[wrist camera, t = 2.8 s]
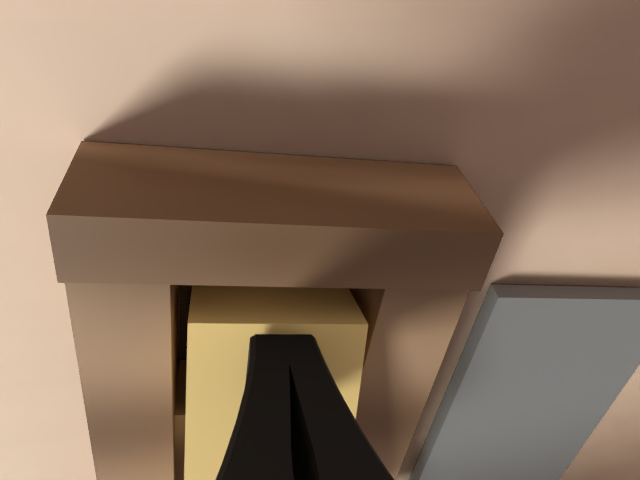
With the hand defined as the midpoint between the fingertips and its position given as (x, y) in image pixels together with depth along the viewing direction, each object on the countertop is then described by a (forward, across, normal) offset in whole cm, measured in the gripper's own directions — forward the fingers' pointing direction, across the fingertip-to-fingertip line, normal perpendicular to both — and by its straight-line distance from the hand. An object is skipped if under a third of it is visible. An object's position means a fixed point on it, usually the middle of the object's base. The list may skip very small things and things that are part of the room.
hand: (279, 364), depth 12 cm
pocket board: (+3, 0, +4) cm, 5 cm away
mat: (+3, -10, +6) cm, 12 cm away
